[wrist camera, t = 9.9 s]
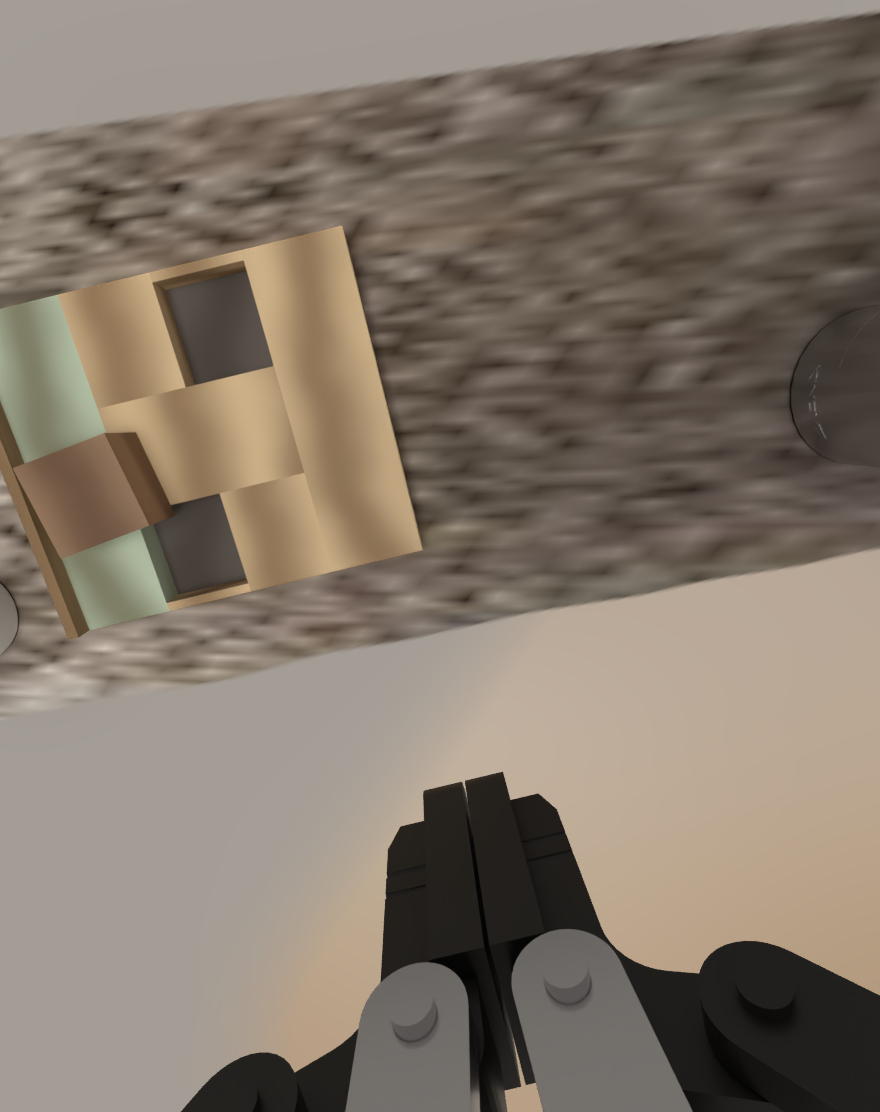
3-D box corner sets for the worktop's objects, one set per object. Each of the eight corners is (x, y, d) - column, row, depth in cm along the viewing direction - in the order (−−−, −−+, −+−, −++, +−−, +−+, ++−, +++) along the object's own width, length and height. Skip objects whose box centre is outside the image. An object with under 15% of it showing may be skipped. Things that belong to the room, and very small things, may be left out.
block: (135, 432, 33) (104, 433, 30) (175, 515, 34) (149, 525, 31) (53, 463, 33) (12, 468, 30) (95, 545, 34) (60, 559, 31)
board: (346, 237, 33) (339, 217, 30) (421, 543, 37) (422, 554, 34) (-18, 325, 33) (-62, 315, 30) (97, 621, 37) (68, 639, 34)
